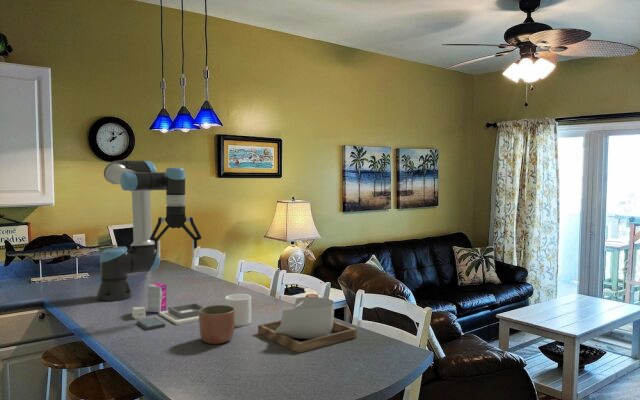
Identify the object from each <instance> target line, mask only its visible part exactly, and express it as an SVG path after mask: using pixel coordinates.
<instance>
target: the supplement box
mask: <svg viewBox="0 0 640 400" xmlns="http://www.w3.org/2000/svg"><path fill="white" fill-rule="evenodd" d="M167 286H168V285H167V284H166V283H158V282H157V283H156V282H154V283H151V284H149V285H147V313H148V314H159V312H162V311H167ZM147 313H146V314H147Z"/></svg>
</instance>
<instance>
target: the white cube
mask: <svg viewBox="0 0 640 400" xmlns="http://www.w3.org/2000/svg"><path fill="white" fill-rule="evenodd" d="M131 310H132V311H131V318H133V319H134V318H135V319H134V320H140V319H144V318H145V317H146V314H147V313H146V311H147V309H146V307H144V306H143V305H140V306H134V307H133V306H132V307H131ZM145 319H146V318H145Z"/></svg>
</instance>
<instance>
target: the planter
mask: <svg viewBox="0 0 640 400" xmlns="http://www.w3.org/2000/svg"><path fill="white" fill-rule="evenodd" d="M234 323H235V308H234V307H232V306H227V305H225V304H214V305H208V306H207V305H206V306H204V307H203V308H201V309H199V321H198V324H199V325H198V328H199V335H200V339H201V341H203V342H204V343H206V344H209V345H210V344H211V345H217V344H219V345H220V344H224V343H227V342H230V340H232V338H233V337H234V332H235V327H234Z"/></svg>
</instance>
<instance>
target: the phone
mask: <svg viewBox="0 0 640 400" xmlns="http://www.w3.org/2000/svg"><path fill="white" fill-rule="evenodd" d="M136 324H137V325H138V326H140V327H141V328H143V329H144V330H146V331H150V330H155V329H160V328H161V329H162V328H165V327H166V323H164V322H162V321H161V320H159V319H157V318H156V317H151V318H145V319H141V320H140V319H138V320H136Z"/></svg>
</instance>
